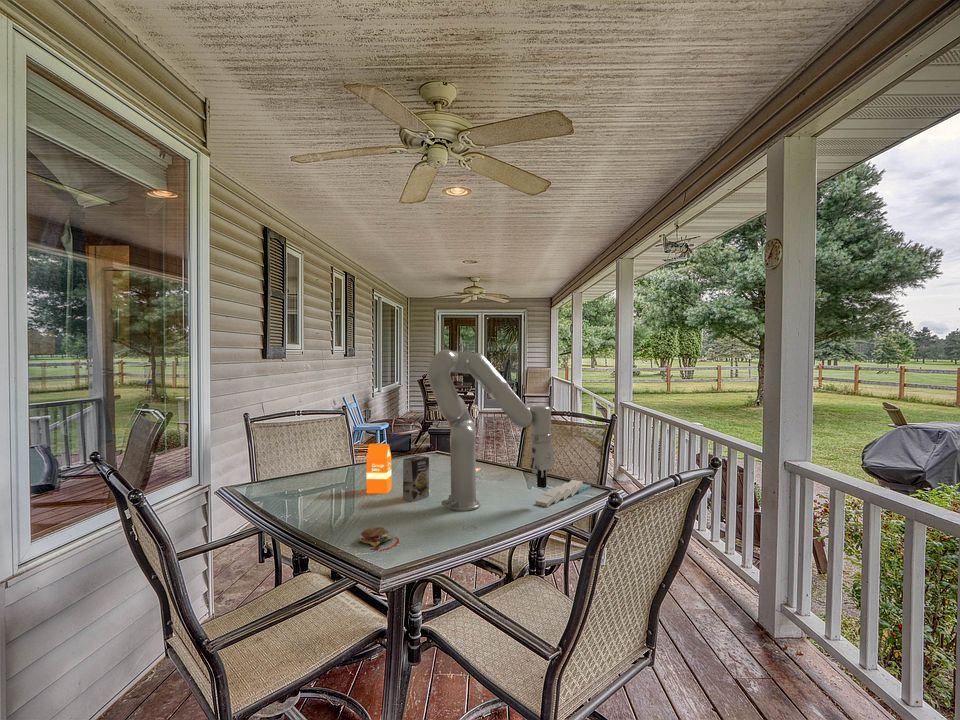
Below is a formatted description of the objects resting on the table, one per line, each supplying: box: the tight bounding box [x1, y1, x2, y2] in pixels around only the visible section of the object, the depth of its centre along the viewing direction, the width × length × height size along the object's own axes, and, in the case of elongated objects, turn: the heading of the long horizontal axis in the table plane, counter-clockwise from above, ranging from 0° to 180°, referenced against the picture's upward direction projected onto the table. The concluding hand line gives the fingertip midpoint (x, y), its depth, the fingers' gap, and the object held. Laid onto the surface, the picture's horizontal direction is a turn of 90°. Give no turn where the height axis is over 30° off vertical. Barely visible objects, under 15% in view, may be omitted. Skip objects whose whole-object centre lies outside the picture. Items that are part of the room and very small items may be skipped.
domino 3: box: [560, 482, 576, 501], centre depth 183 cm, size 2×5×10 cm
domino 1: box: [535, 488, 561, 508], centre depth 174 cm, size 2×5×10 cm
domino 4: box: [568, 479, 584, 497], centre depth 187 cm, size 2×5×10 cm
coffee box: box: [402, 455, 430, 502], centre depth 182 cm, size 9×6×16 cm
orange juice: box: [366, 443, 392, 494], centre depth 193 cm, size 8×9×20 cm
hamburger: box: [358, 526, 400, 553], centre depth 136 cm, size 14×14×6 cm
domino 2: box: [551, 485, 569, 504], centre depth 178 cm, size 2×5×10 cm
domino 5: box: [575, 483, 592, 495], centre depth 191 cm, size 2×5×10 cm
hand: (541, 486), depth 170 cm, fingers closed
